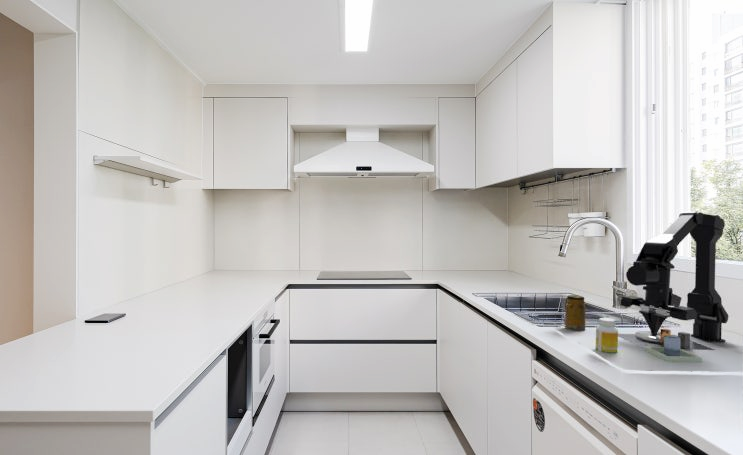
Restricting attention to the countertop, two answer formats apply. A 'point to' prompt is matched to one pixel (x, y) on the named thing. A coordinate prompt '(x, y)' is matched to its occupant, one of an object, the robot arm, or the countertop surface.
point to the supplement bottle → (606, 336)
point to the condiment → (575, 313)
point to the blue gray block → (671, 345)
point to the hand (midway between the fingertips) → (654, 335)
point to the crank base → (684, 344)
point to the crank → (648, 336)
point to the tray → (686, 357)
